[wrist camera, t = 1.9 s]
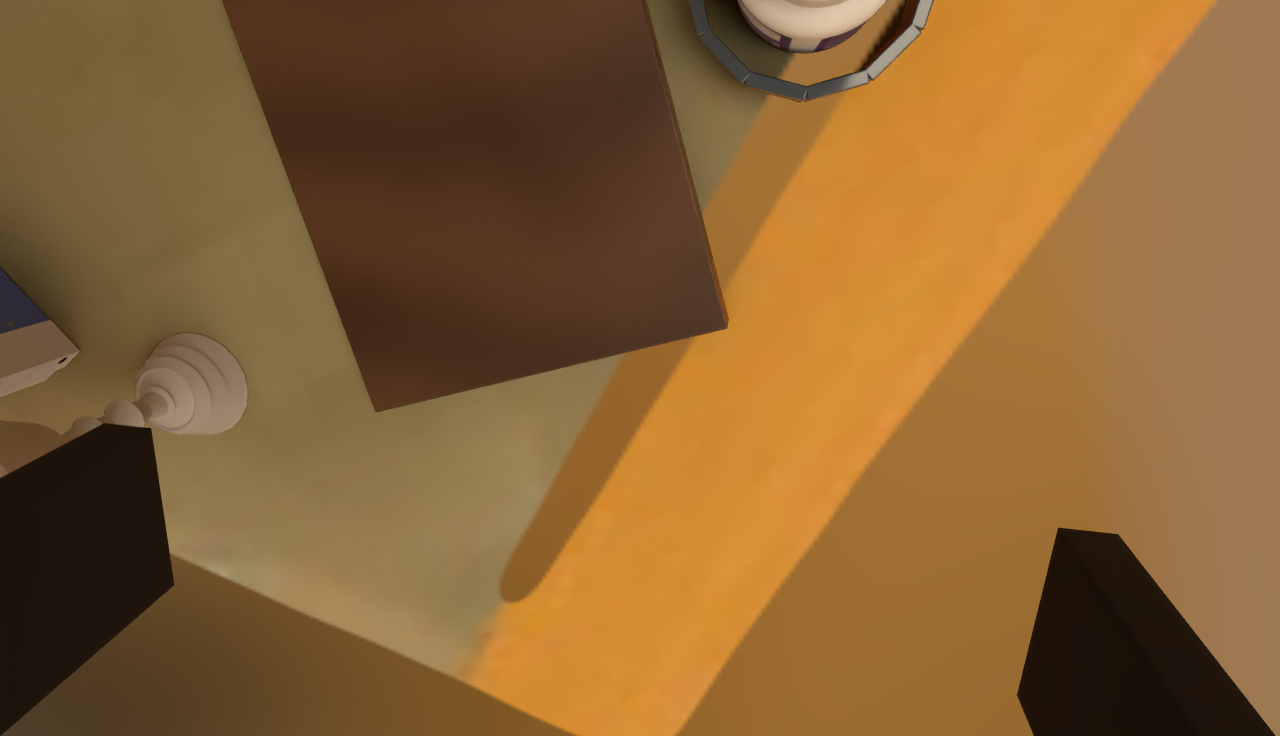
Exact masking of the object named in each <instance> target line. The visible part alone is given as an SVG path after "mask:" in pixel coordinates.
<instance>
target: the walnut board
mask: <svg viewBox="0 0 1280 736" xmlns="http://www.w3.org/2000/svg"><path fill="white" fill-rule="evenodd" d="M222 1H223V4H224V7H225V9H226V12H227V15H228V17H229V20H230V23H231V25H232V28H233V31H234V33H235V36H236V39H237V41H238V44H239V47H240V50H241V52H242V55H243V58H244V60H245V63H246V66H247V68H248V71H249V74H250V76H251V79H252V82H253V84H254V87H255V90H256V93H257V95H258V98H259V101H260V103H261V106H262V109H263V111H264V114H265V117H266V119H267V122H268V125H269V127H270V130H271V133H272V135H273V138H274V141H275V144H276V146H277V149H278V152H279V154H280V157H281V160H282V162H283V165H284V168H285V170H286V173H287V176H288V178H289V181H290V184H291V186H292V189H293V192H294V195H295V197H296V200H297V203H298V205H299V208H300V211H301V213H302V216H303V219H304V221H305V224H306V227H307V229H308V232H309V235H310V238H311V240H312V243H313V246H314V248H315V251H316V254H317V256H318V259H319V262H320V264H321V267H322V270H323V272H324V275H325V278H326V280H327V283H328V286H329V289H330V291H331V294H332V297H333V299H334V302H335V305H336V307H337V310H338V313H339V315H340V318H341V321H342V323H343V326H344V329H345V331H346V334H347V337H348V340H349V342H350V345H351V348H352V350H353V353H354V356H355V358H356V361H357V364H358V366H359V369H360V372H361V374H362V377H363V380H364V382H365V385H366V388H367V391H368V393H369V396H370V399H371V401H372V404H373V407H374V409H375V412H380V411H384V410H389V409H393V408H397V407H401V406H405V405H409V404H414V403H418V402H422V401H426V400H430V399H435V398H439V397H443V396H447V395H451V394H455V393H460V392H464V391H468V390H472V389H476V388H480V387H485V386H489V385H493V384H497V383H501V382H506V381H510V380H514V379H518V378H522V377H526V376H531V375H535V374H539V373H543V372H547V371H552V370H556V369H560V368H564V367H568V366H572V365H577V364H581V363H585V362H589V361H593V360H597V359H602V358H606V357H610V356H614V355H618V354H623V353H627V352H631V351H635V350H639V349H643V348H648V347H652V346H656V345H660V344H664V343H668V342H673V341H677V340H681V339H685V338H689V337H694V336H698V335H702V334H706V333H710V332H714V331H719V330H723V329H727V326H728V320H729V319H728V315H727V311H726V307H725V303H724V299H723V295H722V291H721V288H720V284H719V280H718V276H717V272H716V268H715V264H714V261H713V257H712V253H711V249H710V245H709V241H708V237H707V234H706V230H705V226H704V222H703V218H702V214H701V210H700V206H699V203H698V199H697V195H696V191H695V187H694V183H693V179H692V175H691V172H690V168H689V164H688V160H687V156H686V152H685V148H684V144H683V141H682V137H681V133H680V129H679V125H678V121H677V117H676V114H675V110H674V106H673V102H672V98H671V94H670V90H669V86H668V83H667V79H666V75H665V71H664V67H663V63H662V59H661V55H660V52H659V48H658V44H657V40H656V36H655V32H654V28H653V25H652V21H651V17H650V13H649V9H648V5H647V1H646V0H222Z"/></svg>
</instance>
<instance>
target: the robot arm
mask: <svg viewBox="0 0 1280 736" xmlns="http://www.w3.org/2000/svg"><path fill="white" fill-rule="evenodd" d="M172 586H174V580H173V573H172V566H171V560H170V553H169V546H168V539H167V533H166V526H165V519H164V512H163V506H162V499H161V492H160V485H159V479H158V472H157V465H156V458H155V451H154V445H153V438H152V431H151V428H145V427H136V426H127V425H118V424H109V423H103V424H101V425H100V426H98V427H96V428H94V429H92V430H90V431H88V432H86V433H84V434H83V435H81V436H79V437H77V438H75V439H73V440H71V441H69V442H67V443H65V444H64V445H62V446H60V447H58V448H56V449H54V450H52V451H50V452H48V453H47V454H45V455H43V456H41V457H39V458H37V459H35V460H33V461H31V462H30V463H28V464H26V465H24V466H22V467H20V468H18V469H16V470H14V471H12V472H11V473H9V474H7V475H5V476H3V477H1V478H0V736H1V735H2V734H3V733H4V732H5V731H6V730H8V729H9V728H10V727H11V726H12V725H13V724H15V723H16V722H17V721H18V720H19V719H20V718H22V717H23V716H24V715H25V714H26V713H27V712H28V711H30V710H31V709H32V708H33V707H34V706H35V705H37V704H38V703H39V702H40V701H41V700H42V699H43V698H45V697H46V696H47V695H48V694H49V693H50V692H51V691H53V690H54V689H55V688H56V687H57V686H58V685H60V684H61V683H62V682H63V681H64V680H65V679H66V678H68V677H69V676H70V675H71V674H72V673H73V672H75V671H76V670H77V669H78V668H79V667H80V666H81V665H83V664H84V663H85V662H86V661H87V660H88V659H90V658H91V657H92V656H93V655H94V654H95V653H96V652H97V651H99V650H100V649H101V648H102V647H103V646H104V645H105V644H107V643H108V642H109V641H110V640H111V639H113V638H114V637H115V636H116V635H117V634H118V633H120V632H121V631H122V630H123V629H124V628H125V627H126V626H128V625H129V624H130V623H131V622H132V621H133V620H134V619H136V618H137V617H138V616H139V615H140V614H141V613H143V612H144V611H145V610H146V609H147V608H148V607H149V606H151V605H152V604H153V603H154V602H155V601H156V600H157V599H159V598H160V597H161V596H162V595H163V594H164V593H166V592H167V591H168V590H169V589H170V588H171V587H172ZM1017 696H1018V698H1019V701H1020V703H1021V706H1022V708H1023V711H1024V713H1025V715H1026V718H1027V720H1028V723H1029V725H1030V728H1031V730H1032V732H1033V735H1034V736H1275V735H1274V733H1273V732H1272V731H1271V729H1270V728H1269V727H1268V725H1267V724H1266V723H1265V722H1264V720H1263V719H1262V718H1261V716H1260V715H1259V714H1258V713H1257V711H1256V710H1255V709H1254V708H1253V706H1252V705H1251V704H1250V702H1249V701H1248V700H1247V699H1246V697H1245V696H1244V695H1243V693H1242V692H1241V691H1240V690H1239V689H1238V687H1237V686H1236V685H1235V683H1234V682H1233V681H1232V679H1231V678H1230V677H1229V676H1228V674H1227V673H1226V672H1225V670H1224V669H1223V668H1222V667H1221V665H1220V664H1219V663H1218V662H1217V660H1216V659H1215V658H1214V656H1213V655H1212V654H1211V653H1210V652H1209V650H1208V649H1207V647H1206V646H1205V645H1204V644H1203V642H1202V641H1201V640H1200V639H1199V637H1198V636H1197V635H1196V633H1195V632H1194V631H1193V630H1192V628H1191V627H1190V626H1189V624H1188V623H1187V622H1186V621H1185V619H1184V618H1183V617H1182V615H1181V614H1180V613H1179V612H1178V610H1177V609H1176V608H1175V607H1174V605H1173V604H1172V603H1171V601H1170V600H1169V599H1168V598H1167V596H1166V595H1165V594H1164V593H1163V591H1162V590H1161V589H1160V587H1159V586H1158V585H1157V583H1156V582H1155V581H1154V580H1153V578H1152V577H1151V576H1150V575H1149V573H1148V572H1147V571H1146V569H1145V568H1144V567H1143V566H1142V564H1141V563H1140V562H1139V560H1138V559H1137V558H1136V557H1135V555H1134V554H1133V553H1132V551H1131V550H1130V549H1129V548H1128V546H1127V545H1126V544H1125V543H1124V541H1123V540H1122V539H1121V537H1120V536H1119V535H1118V534H1111V533H1101V532H1092V531H1083V530H1074V529H1065V528H1058V530H1057V535H1056V539H1055V543H1054V547H1053V551H1052V555H1051V559H1050V563H1049V567H1048V571H1047V576H1046V580H1045V583H1044V588H1043V592H1042V596H1041V600H1040V604H1039V608H1038V612H1037V616H1036V620H1035V625H1034V628H1033V632H1032V637H1031V640H1030V645H1029V649H1028V653H1027V657H1026V661H1025V665H1024V669H1023V673H1022V677H1021V681H1020V685H1019V689H1018V694H1017Z"/></svg>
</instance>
